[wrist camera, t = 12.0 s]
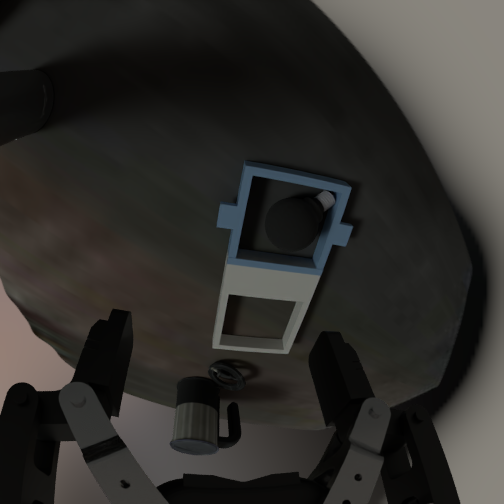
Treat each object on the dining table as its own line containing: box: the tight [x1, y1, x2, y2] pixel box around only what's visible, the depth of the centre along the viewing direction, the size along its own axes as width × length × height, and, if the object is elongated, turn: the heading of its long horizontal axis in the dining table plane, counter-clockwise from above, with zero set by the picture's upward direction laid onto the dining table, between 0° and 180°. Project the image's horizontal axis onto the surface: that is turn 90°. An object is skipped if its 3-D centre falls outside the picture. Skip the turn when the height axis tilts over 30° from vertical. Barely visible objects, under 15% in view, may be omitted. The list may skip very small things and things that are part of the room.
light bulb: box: [265, 191, 335, 251], centre depth 35 cm, size 6×6×10 cm
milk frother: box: [170, 362, 246, 455], centre depth 49 cm, size 14×16×15 cm
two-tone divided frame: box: [212, 161, 353, 354], centre depth 41 cm, size 17×30×3 cm, turn 169°
